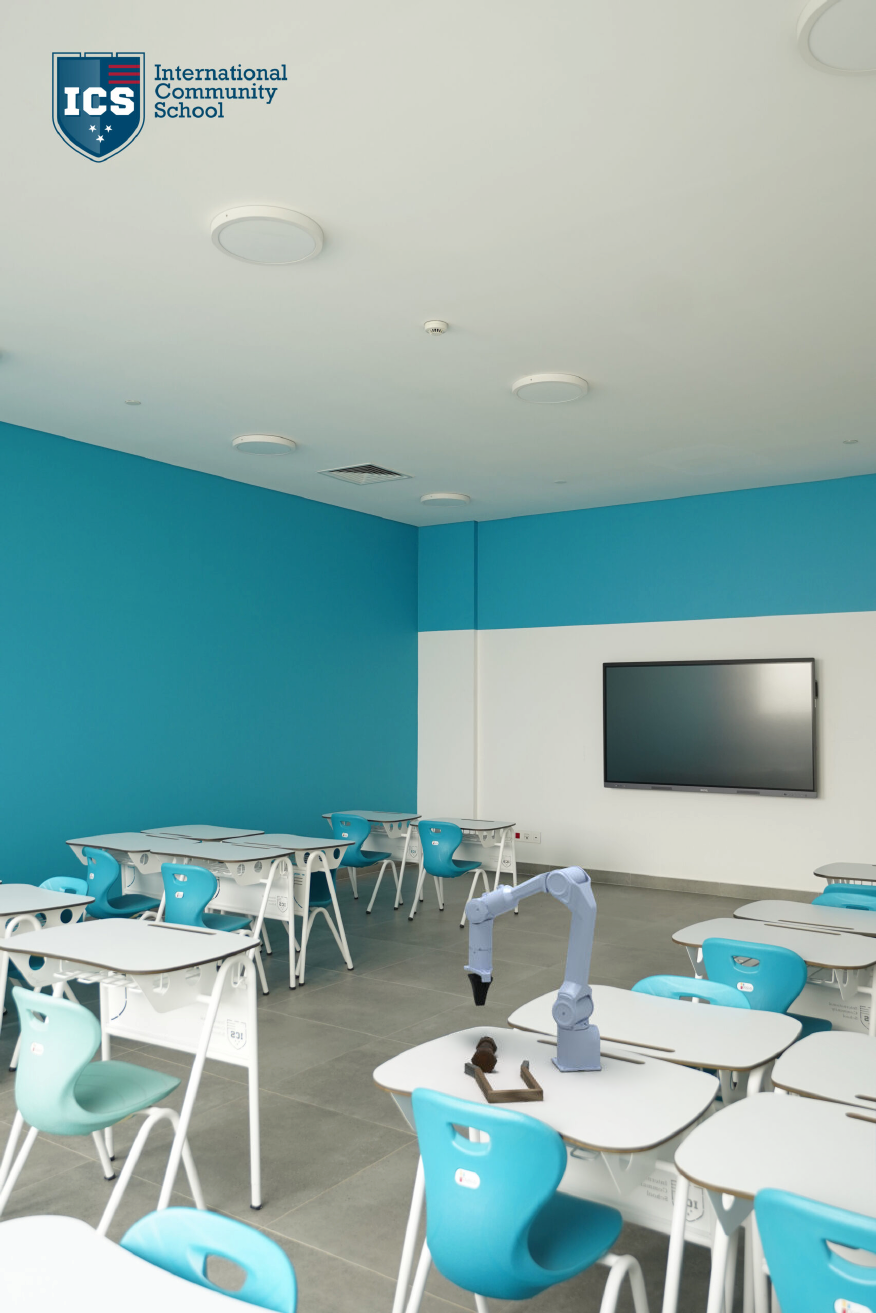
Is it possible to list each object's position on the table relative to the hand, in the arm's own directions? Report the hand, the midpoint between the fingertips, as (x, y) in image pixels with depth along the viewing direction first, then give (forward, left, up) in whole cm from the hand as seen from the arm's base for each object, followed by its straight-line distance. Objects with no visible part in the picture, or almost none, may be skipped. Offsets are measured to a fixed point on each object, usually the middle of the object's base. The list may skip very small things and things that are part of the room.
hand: (479, 1004), depth 231 cm
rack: (0, +28, -9) cm, 29 cm away
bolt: (+1, +13, -10) cm, 16 cm away
